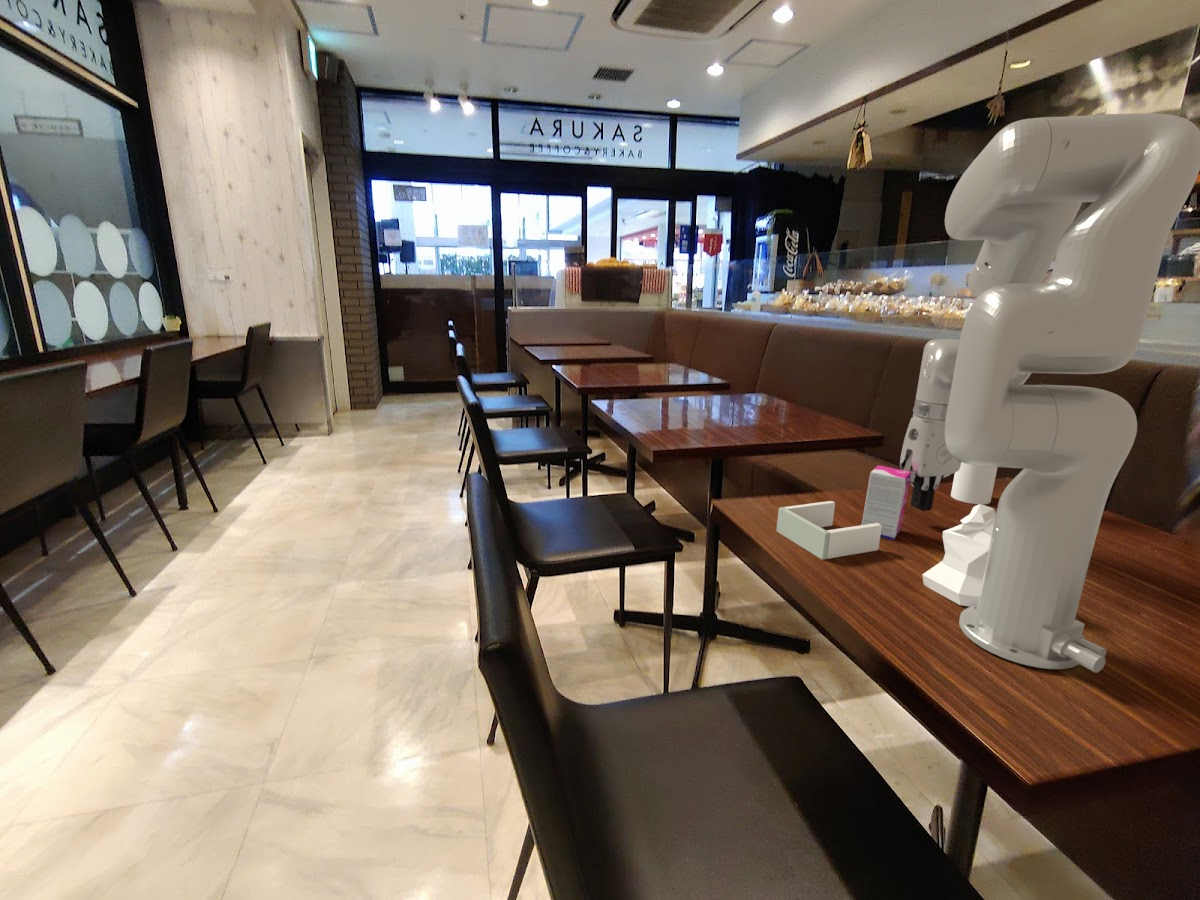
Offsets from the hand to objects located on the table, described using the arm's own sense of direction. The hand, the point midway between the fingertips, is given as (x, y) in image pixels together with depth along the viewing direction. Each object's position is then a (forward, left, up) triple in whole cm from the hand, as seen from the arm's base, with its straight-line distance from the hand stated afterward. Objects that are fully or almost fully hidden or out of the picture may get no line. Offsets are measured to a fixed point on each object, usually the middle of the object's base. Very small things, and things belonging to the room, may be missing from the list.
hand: (920, 507), depth 107 cm
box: (0, +21, -3) cm, 22 cm away
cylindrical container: (+8, -23, -4) cm, 24 cm away
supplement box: (0, +9, -4) cm, 10 cm away
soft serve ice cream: (-22, +13, -4) cm, 26 cm away
